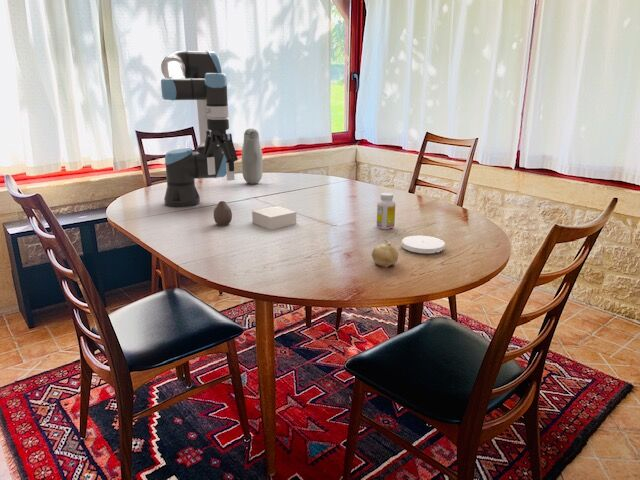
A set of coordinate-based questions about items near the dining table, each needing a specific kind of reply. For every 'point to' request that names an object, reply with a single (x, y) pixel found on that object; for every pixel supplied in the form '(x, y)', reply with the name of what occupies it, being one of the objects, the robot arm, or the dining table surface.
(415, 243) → the plastic lid
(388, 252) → the onion
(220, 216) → the vase
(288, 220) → the riser block
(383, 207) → the supplement bottle
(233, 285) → the dining table surface
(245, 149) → the grey-green rounded cylinder
